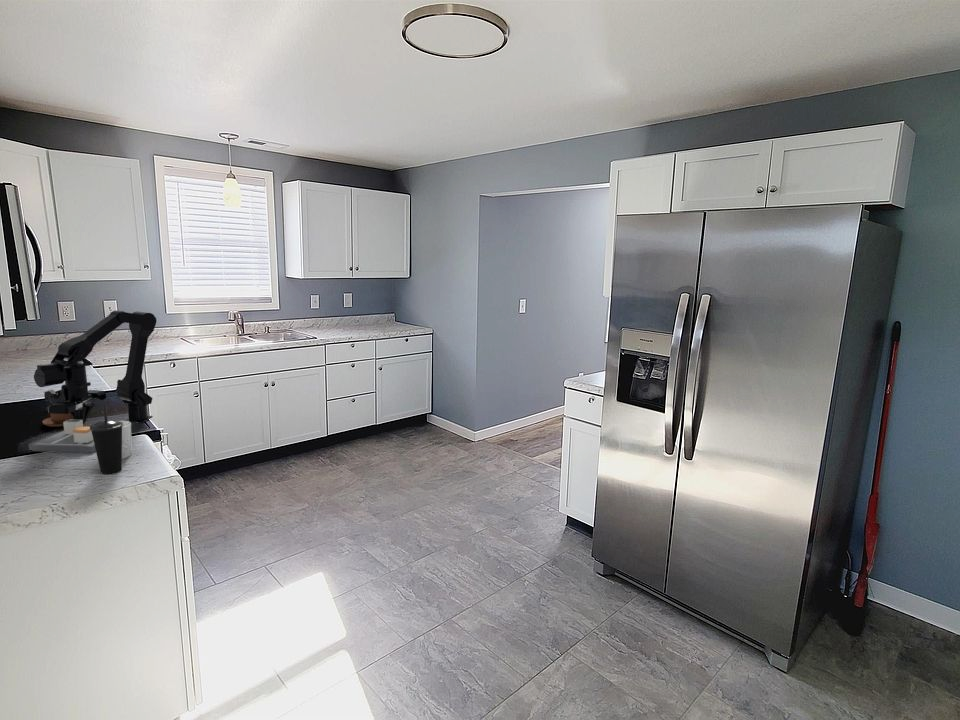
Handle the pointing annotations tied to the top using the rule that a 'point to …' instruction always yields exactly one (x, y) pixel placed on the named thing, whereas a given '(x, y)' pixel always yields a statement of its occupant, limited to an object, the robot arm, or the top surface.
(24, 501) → the top surface
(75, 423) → the block
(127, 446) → the white cup
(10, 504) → the top surface
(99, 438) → the drinking cup
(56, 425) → the cup and saucer
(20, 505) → the top surface
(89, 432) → the orange fader
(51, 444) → the grey square board
